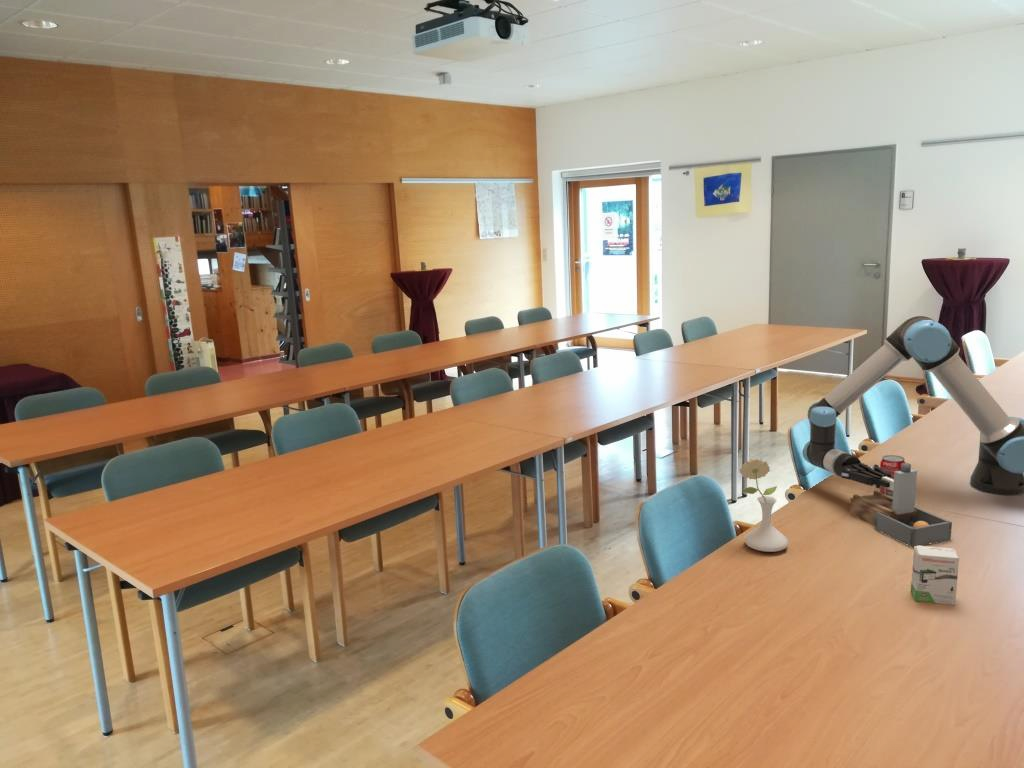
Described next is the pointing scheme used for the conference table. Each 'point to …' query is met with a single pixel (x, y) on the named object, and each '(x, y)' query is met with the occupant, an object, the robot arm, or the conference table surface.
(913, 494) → the block with cylinder top
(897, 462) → the soda can
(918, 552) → the ink box
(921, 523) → the ball
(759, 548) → the flower in vase
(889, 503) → the wooden box
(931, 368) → the robot arm
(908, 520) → the tray
